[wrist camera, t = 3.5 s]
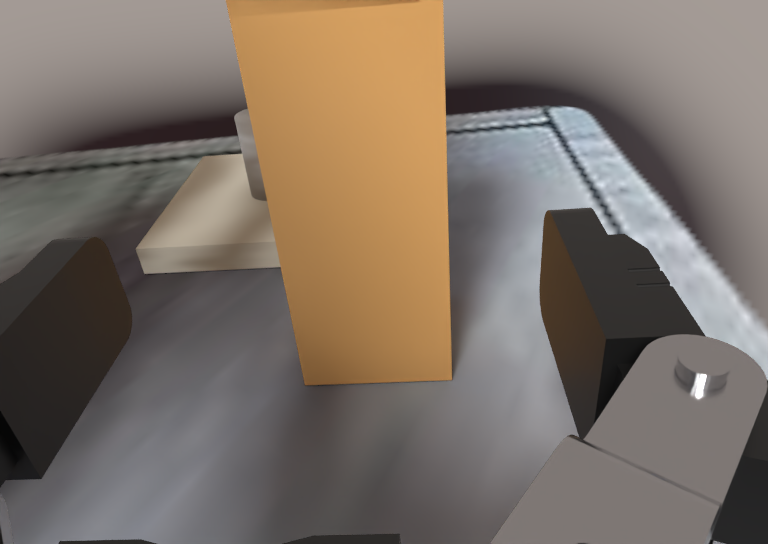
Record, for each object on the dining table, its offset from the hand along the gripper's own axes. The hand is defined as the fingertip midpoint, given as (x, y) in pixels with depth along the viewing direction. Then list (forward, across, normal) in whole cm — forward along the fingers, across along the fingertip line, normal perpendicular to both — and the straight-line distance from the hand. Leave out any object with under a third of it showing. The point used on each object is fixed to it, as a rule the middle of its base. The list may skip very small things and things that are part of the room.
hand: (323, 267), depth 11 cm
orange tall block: (+10, 0, +10) cm, 14 cm away
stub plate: (+22, +7, +10) cm, 25 cm away
